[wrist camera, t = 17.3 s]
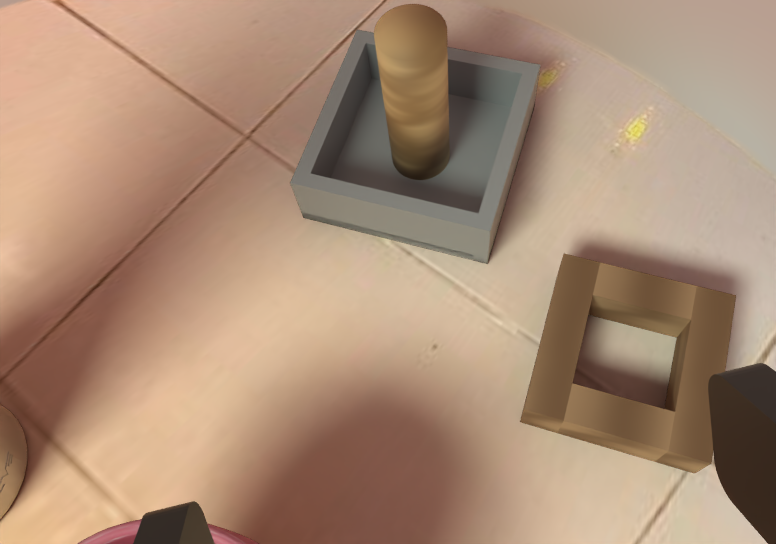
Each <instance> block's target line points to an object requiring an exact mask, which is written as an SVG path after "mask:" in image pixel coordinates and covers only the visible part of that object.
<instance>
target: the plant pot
mask: <svg viewBox="0 0 776 544" xmlns="http://www.w3.org/2000/svg"><path fill="white" fill-rule="evenodd" d="M141 520H142V519H141ZM141 520H136V521H130V522H126V523H123V524H120V525H116V526H113V527H110V528H107V529H105V530H103V531H100V532H98V533H96V534H94V535H92V536H90V537H88V538H86V539H84V540H83V541H81V542H79V543H78V544H133V543H134V540H135V537H136V534H137V531H138V529H139V526H140V523H141ZM208 527H209V530H210V532H211V535H212V538H213V540H214V543H215V544H259V543H257V542H255V541H253V540H251V539H249V538H247V537H245V536H242V535H240V534H238V533H235V532H232V531H229V530H227V529H224V528H220V527H217V526H214V525H210V524H208Z"/></svg>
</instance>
